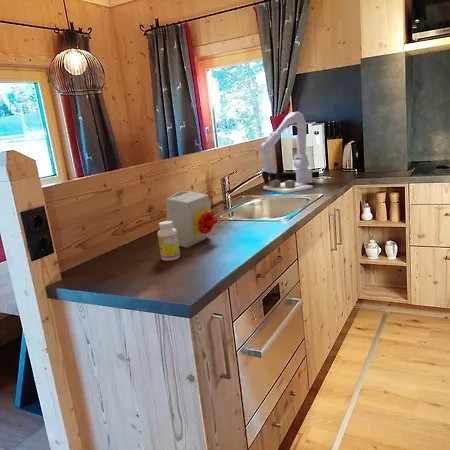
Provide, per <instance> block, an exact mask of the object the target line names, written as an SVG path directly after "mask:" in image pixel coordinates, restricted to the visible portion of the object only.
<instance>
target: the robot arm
mask: <svg viewBox="0 0 450 450" xmlns="http://www.w3.org/2000/svg"><path fill="white" fill-rule="evenodd" d="M304 117H305V115H304V114H303V113H302V112H300V111H294V112H293V111H290V112H289V113H288V114H287V115H286V116H285V117H284V119H283V120H282V122H281V123H280V124H279V126H278V128H277V129H276V130H275V131H272V132H270V133H269V136H268V137H267V138H266V139H265V140H264V142H262V143H261V144H260V148H259V149H260V150H261V151H262V163H263V164H262V165H263V168H261V173H262V171H263V173H262V175H261V177H262V179H263V181H264V184H265V185H266V184H267V185H269V181H273V180H277V176H278V172H277V169H275V168H274V164H273V149H274V146H275V145H276V144H277V142H278V141H279V140H280V138H281V134H282V133H283V132H284V130H285V129H286V128H287V127H288V126H290V125H294V126H295V127H296V128H297V134H296V135H297V136H296V137H297V138H296V141H297V143H296V154H295V156H294V160H293V166H294V168H295V179H296V181H295V183H299V184H306V185H307V184H311V183H314V181H313V173H312V169H311V168H310V167H309V166H310V163H309V162H310V161H309V157H308V154H307V153H306V152H307V151H306V150H307V123H306V120H305V118H304Z"/></svg>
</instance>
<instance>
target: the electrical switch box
mask: <svg viewBox="0 0 450 450" xmlns="http://www.w3.org/2000/svg"><path fill="white" fill-rule="evenodd" d="M165 201H166V203H165V204H166V208H165V209H166V221H172V222H173V228H175V229H176V230H177V236H178V243H179V247H182V248H186V249H187V248H190V247H192V246H193V245H196V244H198V243H200V242H202V241H203V240H206V239H207V238H209V235H210V233H211V231H212V229H213V228H214V225H215V224H218V218H215V217H214V214H212V209H211V208H212V203H211V200H210V197H209V194H205V193H200V192H196V191H195V192H194V191H189V190H188V191H177V192H175V193H174V194H172V195H171V196H169V197H168V198H166V200H165Z"/></svg>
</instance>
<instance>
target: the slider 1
mask: <svg viewBox="0 0 450 450" xmlns="http://www.w3.org/2000/svg"><path fill="white" fill-rule="evenodd" d="M269 181H270V180H269ZM280 183H281V180H279V179H275V180H273V181H270V185H271V187H279V186H281V184H280Z"/></svg>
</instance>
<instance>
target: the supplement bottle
mask: <svg viewBox="0 0 450 450" xmlns="http://www.w3.org/2000/svg"><path fill="white" fill-rule="evenodd" d="M158 225H159V226H158V227H159V228H160V229H159V230H158V231H157V238H158V239H157V240H158V246H159V247H158V248H159V253H160V258H161V260H162V261H166V262H167V261H168V262H170V261H175V260H177V259H179V258H180V257H181V251H180V246H179V243H178V236H177V230H176V229H175V228H173V222H172V221H167V220H165V221H160V222H159V223H158Z"/></svg>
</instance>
